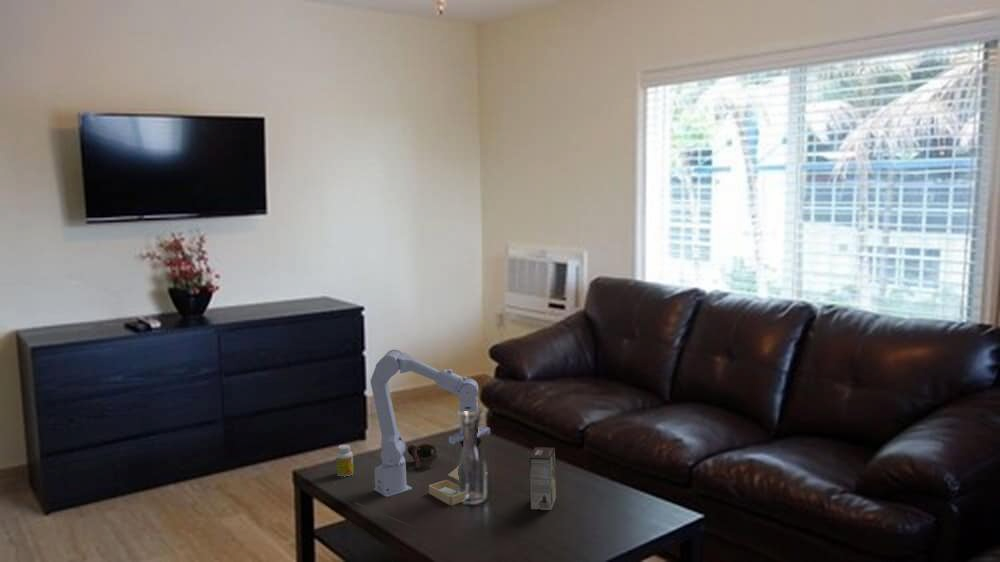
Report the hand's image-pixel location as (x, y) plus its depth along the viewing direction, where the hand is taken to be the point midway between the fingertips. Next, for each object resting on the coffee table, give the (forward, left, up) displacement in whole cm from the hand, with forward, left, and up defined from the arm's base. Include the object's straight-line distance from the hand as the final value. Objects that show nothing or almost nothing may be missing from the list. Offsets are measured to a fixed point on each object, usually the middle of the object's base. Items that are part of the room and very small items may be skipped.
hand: (470, 460), depth 246 cm
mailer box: (-8, 0, -10) cm, 13 cm away
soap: (-9, 0, -9) cm, 13 cm away
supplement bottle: (-24, +38, -10) cm, 46 cm away
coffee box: (+10, -23, -10) cm, 27 cm away
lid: (-1, 0, -4) cm, 4 cm away
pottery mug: (+1, +30, -10) cm, 31 cm away
